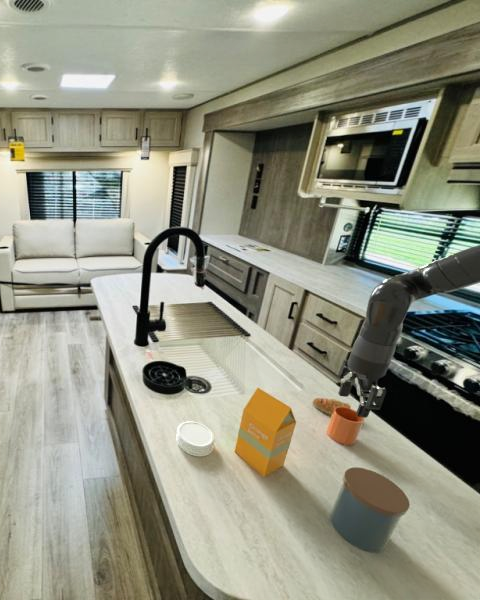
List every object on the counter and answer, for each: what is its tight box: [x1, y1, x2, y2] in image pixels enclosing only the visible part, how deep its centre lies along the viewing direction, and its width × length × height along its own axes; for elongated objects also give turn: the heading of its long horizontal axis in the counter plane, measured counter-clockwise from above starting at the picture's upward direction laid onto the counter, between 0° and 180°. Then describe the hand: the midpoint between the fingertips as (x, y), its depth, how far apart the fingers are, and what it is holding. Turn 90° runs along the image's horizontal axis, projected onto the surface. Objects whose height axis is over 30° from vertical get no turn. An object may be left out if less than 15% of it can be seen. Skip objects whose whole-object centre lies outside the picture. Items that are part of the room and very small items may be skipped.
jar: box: [329, 466, 411, 554], centre depth 64 cm, size 10×10×12 cm
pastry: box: [312, 397, 351, 417], centre depth 98 cm, size 9×7×4 cm
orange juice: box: [234, 387, 297, 478], centre depth 79 cm, size 8×9×20 cm
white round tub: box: [175, 420, 216, 457], centre depth 87 cm, size 10×10×4 cm
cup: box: [325, 406, 365, 446], centre depth 88 cm, size 6×6×8 cm
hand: (351, 405), depth 85 cm, fingers open, 8 cm apart
